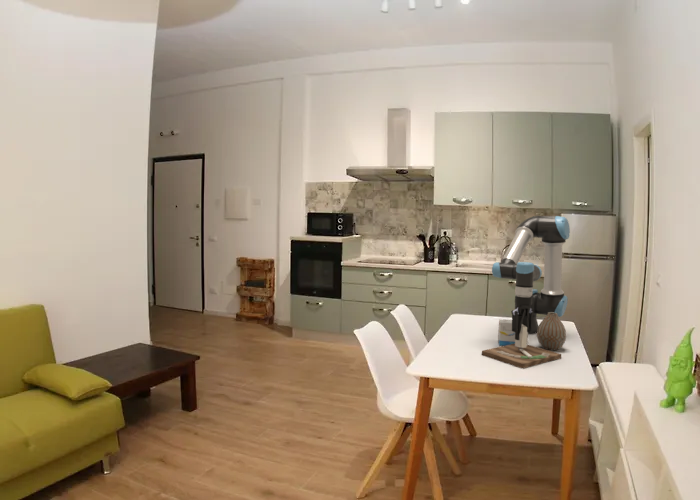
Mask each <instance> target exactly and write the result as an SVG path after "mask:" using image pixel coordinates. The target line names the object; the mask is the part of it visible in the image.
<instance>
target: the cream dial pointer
mask: <svg viewBox="0 0 700 500" xmlns="http://www.w3.org/2000/svg"><path fill="white" fill-rule="evenodd" d="M520 333H521V347H518V350H520V351H521V352H522V353H524V354H525V355H526V356H527V357H529V358H532V356H531V355H530V354H529V353H528V352H526V351H525V350H524V349H523V348H526V341H527V327H526V326H525V325H523V324H522V326H521V331H520Z"/></svg>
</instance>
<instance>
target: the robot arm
mask: <svg viewBox="0 0 700 500" xmlns="http://www.w3.org/2000/svg"><path fill="white" fill-rule="evenodd" d="M570 233H571V230H570V223H569V221H568V219H567V217H565V216H559V215H534V216H531V217H528V218H526V219H525V220H523V221H522V222H521V223H520V224H519V225H518V226H517V227H516V229H515V231H514V236H513V238H512V241H511V243H510V244H509V247H508V249H507V250H506V252H505V253H504V254H503V255H504V256H503V257H502V259H501V261H498V262H496V261H495V262H494V263H493V264H492V266H491V268H492V269H491V273H492V276H493V277H494V278H499V279H508V280H515V288H514V289H515V291H514V295H515V296H514V310H513V309H512V310H511V320H512V331H513V332H515V346H516V347H521V333H520V331H521V326H522V324H523V325H525V326H526V327H527V341H526V346H527V345H529V344H528V343H529V342H528V341H529V334H532V335H533V334H537V329H538V326H539V324H538V319H537V315H542V316H547V314H548V312H553V313H557V314H558V317H559V318H561V317H563V315H565V313H566V309H567V306H568V299H569V298H568V296H567V295H565V292H564V290H563V289H562V271H563V270H562V267H563V245H564V244H565V243H566V240H568V239H569V238H570ZM535 238H539V239H541V243H542V244H543V245H544V259H543V260H544V261H543V262H544V263H543V265H544V266H543V271H542V269H541V267H540V266H538V265H536V264H534V263H533V262H528V261H520V259H521V257H522V255H523V254H524V252H525V250H526V248H527V245H528V244H529V242H531V241H532V240H533V239H535ZM542 274H543V288H542V289H541V290H540V292H539V290H538V289H535V288H534V282H537V281H538V280H540V278H541V277H542Z"/></svg>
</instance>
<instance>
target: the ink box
mask: <svg viewBox="0 0 700 500" xmlns="http://www.w3.org/2000/svg"><path fill="white" fill-rule="evenodd" d="M497 332H498V333H497V343H498V345H499V347H501V346H506V345H511V344H515V332H513V331H512V319H501V318H500V319H498V331H497Z"/></svg>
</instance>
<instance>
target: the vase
mask: <svg viewBox="0 0 700 500" xmlns="http://www.w3.org/2000/svg"><path fill="white" fill-rule="evenodd" d="M536 337H537V341H538V343H539V345H540V346H541V347H542V349H545V350H548V351H558V350H559V349H561V348H562V347H563V346H564V344H565V342H566V339H567V332H566V328H565V326H564V323H563V322H562V321H561V319H560V317H558V314H557V313H553V312H548V314H547V315H545V317H544V318H543V320H541V322H540V323H539V324H538V329H537V333H536Z"/></svg>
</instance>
